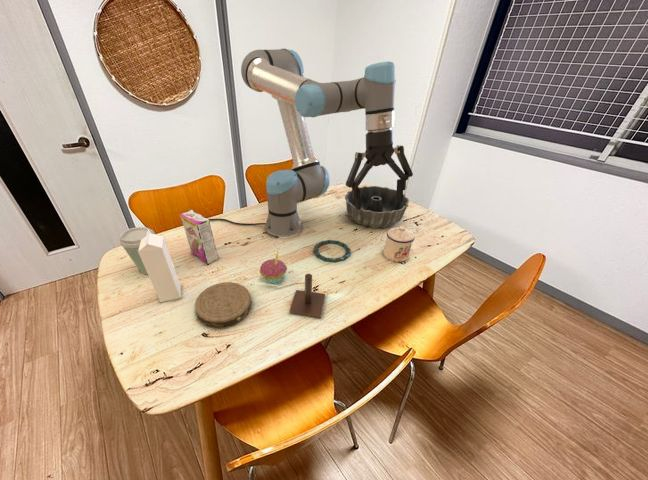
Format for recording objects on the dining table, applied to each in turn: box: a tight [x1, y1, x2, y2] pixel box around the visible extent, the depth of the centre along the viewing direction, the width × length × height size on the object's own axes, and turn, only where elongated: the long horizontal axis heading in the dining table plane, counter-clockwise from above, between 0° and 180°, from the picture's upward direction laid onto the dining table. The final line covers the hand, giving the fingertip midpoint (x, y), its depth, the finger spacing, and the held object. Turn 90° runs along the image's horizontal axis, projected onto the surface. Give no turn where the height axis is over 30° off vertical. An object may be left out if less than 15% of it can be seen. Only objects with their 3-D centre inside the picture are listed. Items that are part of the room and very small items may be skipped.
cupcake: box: [259, 251, 288, 285], centre depth 88 cm, size 9×8×12 cm
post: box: [289, 273, 326, 319], centre depth 79 cm, size 9×9×11 cm
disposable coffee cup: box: [118, 226, 156, 275], centre depth 93 cm, size 11×11×15 cm
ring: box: [312, 239, 352, 264], centre depth 103 cm, size 14×14×2 cm
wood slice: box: [194, 281, 252, 329], centre depth 81 cm, size 16×16×3 cm
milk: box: [138, 228, 182, 303], centre depth 80 cm, size 6×6×22 cm
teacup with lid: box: [383, 225, 416, 263], centre depth 98 cm, size 12×9×12 cm
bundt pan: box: [344, 185, 410, 229], centre depth 120 cm, size 26×26×10 cm
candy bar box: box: [179, 209, 219, 265], centre depth 98 cm, size 11×5×16 cm, turn 47°
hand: (378, 204), depth 87 cm, fingers open, 13 cm apart
